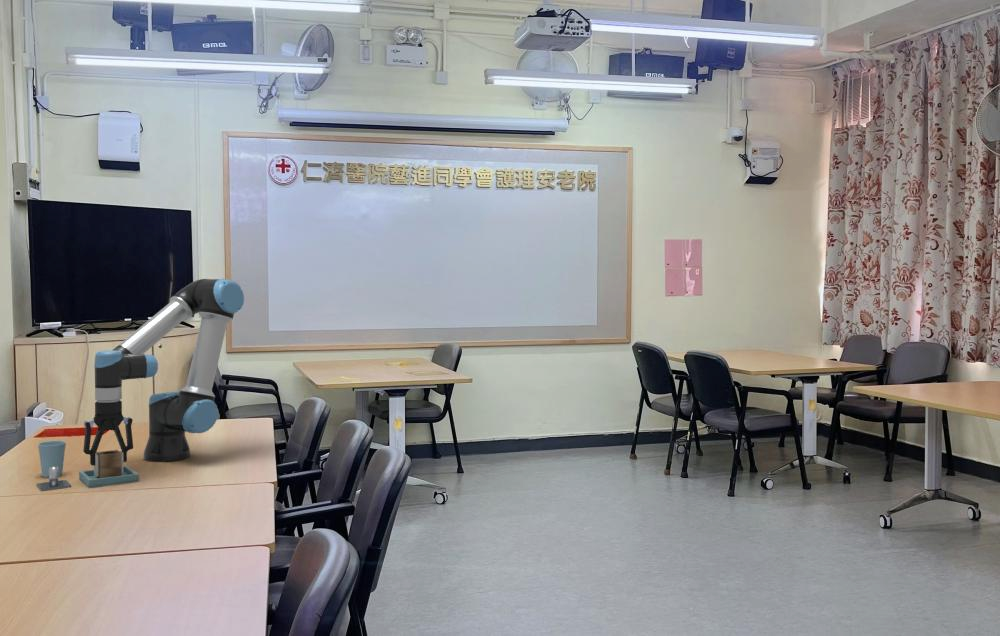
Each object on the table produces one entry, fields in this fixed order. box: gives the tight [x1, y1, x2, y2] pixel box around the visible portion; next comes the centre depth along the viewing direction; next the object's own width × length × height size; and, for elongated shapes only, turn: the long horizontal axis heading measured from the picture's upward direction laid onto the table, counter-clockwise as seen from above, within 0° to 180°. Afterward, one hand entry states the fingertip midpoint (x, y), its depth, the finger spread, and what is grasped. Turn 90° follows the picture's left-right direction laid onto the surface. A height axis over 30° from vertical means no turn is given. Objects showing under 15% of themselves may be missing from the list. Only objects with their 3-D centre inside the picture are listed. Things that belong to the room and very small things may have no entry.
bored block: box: [96, 449, 122, 479], centre depth 250 cm, size 6×6×8 cm
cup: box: [37, 440, 67, 478], centre depth 254 cm, size 8×8×10 cm
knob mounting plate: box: [36, 466, 72, 492], centre depth 242 cm, size 8×8×6 cm
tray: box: [78, 465, 140, 489], centre depth 250 cm, size 14×14×2 cm
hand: (108, 473), depth 250 cm, fingers open, 6 cm apart
